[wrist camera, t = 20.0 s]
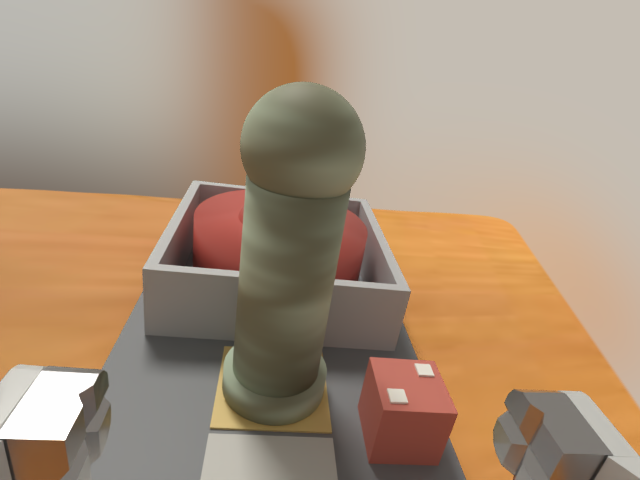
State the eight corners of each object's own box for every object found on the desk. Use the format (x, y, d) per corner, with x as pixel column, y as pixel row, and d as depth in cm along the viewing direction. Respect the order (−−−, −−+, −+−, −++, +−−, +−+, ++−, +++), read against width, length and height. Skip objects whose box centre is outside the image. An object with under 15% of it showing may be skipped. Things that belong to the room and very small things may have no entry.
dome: (175, 314, 24) (175, 214, 22) (206, 231, 34) (209, 155, 32) (369, 328, 26) (391, 236, 23) (345, 244, 36) (359, 173, 33)
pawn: (215, 423, 19) (234, 79, 13) (228, 349, 23) (247, 67, 17) (327, 428, 19) (393, 101, 13) (319, 355, 23) (367, 85, 18)
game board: (-192, 975, 8) (-323, 905, 6) (177, 236, 36) (177, 177, 34) (607, 889, 10) (724, 815, 8) (368, 254, 38) (380, 200, 36)
